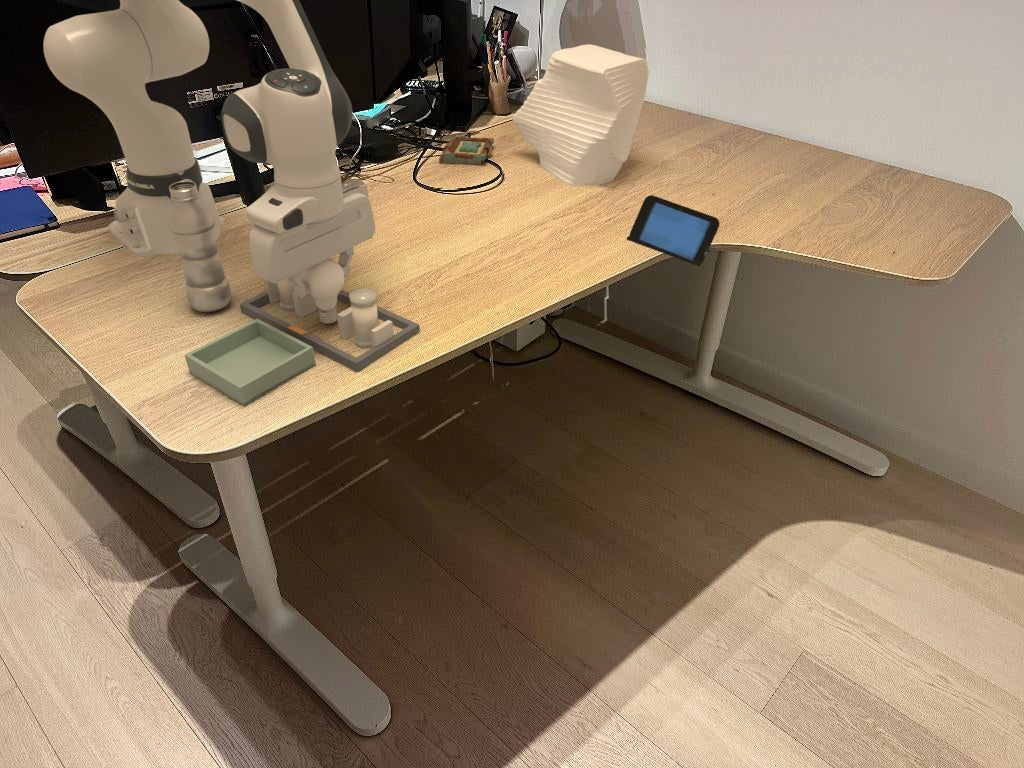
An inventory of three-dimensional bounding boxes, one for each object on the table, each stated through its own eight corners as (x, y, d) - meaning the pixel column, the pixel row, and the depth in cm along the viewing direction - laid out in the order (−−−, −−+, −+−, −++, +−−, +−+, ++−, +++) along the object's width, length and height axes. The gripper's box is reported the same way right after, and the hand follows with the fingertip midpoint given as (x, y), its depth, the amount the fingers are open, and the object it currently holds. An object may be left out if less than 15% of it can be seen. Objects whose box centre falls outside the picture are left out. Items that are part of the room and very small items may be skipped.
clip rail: (241, 312, 118) (236, 289, 115) (305, 281, 126) (302, 259, 124) (357, 372, 105) (354, 348, 103) (419, 333, 114) (418, 310, 111)
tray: (189, 372, 104) (184, 355, 103) (261, 335, 112) (257, 318, 111) (244, 406, 99) (240, 388, 97) (315, 364, 107) (312, 347, 105)
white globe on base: (275, 305, 119) (266, 260, 115) (294, 296, 122) (286, 252, 117) (291, 313, 118) (283, 268, 113) (310, 304, 120) (302, 259, 115)
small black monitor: (598, 262, 134) (602, 213, 129) (640, 239, 142) (647, 192, 137) (672, 292, 126) (680, 242, 120) (713, 266, 134) (722, 218, 128)
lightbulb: (352, 311, 118) (344, 248, 112) (346, 333, 113) (338, 268, 107) (312, 311, 118) (301, 248, 112) (304, 333, 113) (293, 268, 106)
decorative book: (433, 178, 165) (432, 156, 162) (449, 151, 179) (449, 130, 176) (493, 182, 164) (493, 160, 161) (504, 155, 178) (505, 134, 175)
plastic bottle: (181, 309, 118) (147, 187, 106) (216, 292, 123) (187, 173, 111) (208, 321, 115) (176, 198, 103) (243, 303, 120) (216, 183, 108)
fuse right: (349, 342, 111) (343, 295, 107) (368, 331, 114) (363, 285, 109) (367, 351, 110) (362, 304, 105) (386, 340, 112) (381, 293, 107)
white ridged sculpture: (578, 203, 155) (588, 73, 139) (508, 163, 173) (510, 43, 157) (655, 184, 164) (672, 60, 149) (581, 147, 182) (589, 33, 167)
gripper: (350, 170, 112) (359, 254, 120) (235, 213, 98) (254, 304, 107) (380, 180, 109) (387, 265, 117) (266, 226, 96) (283, 319, 104)
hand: (323, 284), depth 112 cm, fingers closed on lightbulb, 6 cm apart
